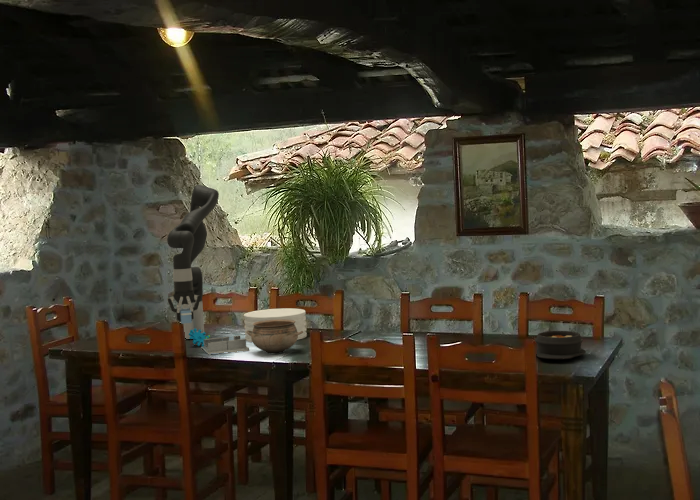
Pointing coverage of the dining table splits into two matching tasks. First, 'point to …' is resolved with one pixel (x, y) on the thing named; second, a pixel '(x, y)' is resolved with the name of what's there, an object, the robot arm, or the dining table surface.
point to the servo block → (185, 316)
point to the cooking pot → (274, 335)
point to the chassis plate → (224, 345)
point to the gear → (198, 336)
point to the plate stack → (276, 314)
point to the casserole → (559, 345)
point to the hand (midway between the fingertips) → (185, 321)
